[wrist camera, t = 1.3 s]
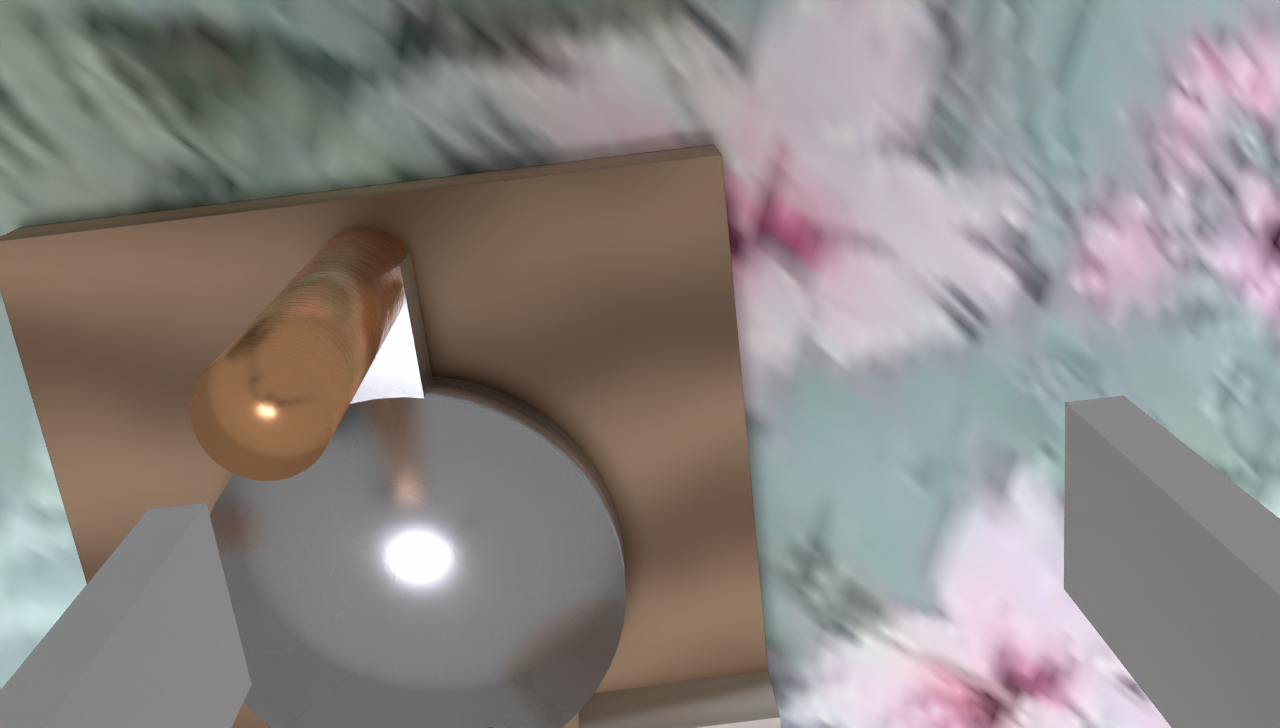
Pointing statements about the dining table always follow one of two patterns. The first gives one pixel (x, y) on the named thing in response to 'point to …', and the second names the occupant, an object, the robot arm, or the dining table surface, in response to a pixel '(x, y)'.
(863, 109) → the dining table surface
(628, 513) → the board
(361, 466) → the cam disc
